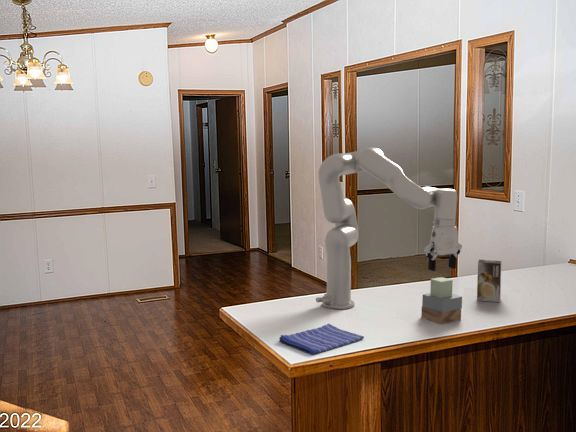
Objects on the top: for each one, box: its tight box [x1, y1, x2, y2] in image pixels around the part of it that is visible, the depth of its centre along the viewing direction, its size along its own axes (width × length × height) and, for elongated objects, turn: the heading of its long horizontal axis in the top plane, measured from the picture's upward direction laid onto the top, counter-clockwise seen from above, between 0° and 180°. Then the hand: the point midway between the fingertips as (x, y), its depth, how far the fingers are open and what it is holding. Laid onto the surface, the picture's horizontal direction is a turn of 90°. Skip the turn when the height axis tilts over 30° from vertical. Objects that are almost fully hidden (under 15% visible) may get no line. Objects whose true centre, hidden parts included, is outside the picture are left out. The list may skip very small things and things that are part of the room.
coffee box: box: [476, 259, 502, 303], centre depth 253 cm, size 9×6×16 cm
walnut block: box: [420, 305, 462, 325], centre depth 227 cm, size 10×10×4 cm
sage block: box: [429, 277, 453, 298], centre depth 226 cm, size 6×6×6 cm
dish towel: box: [279, 323, 365, 356], centre depth 203 cm, size 17×24×3 cm
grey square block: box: [421, 292, 463, 313], centre depth 227 cm, size 10×10×4 cm
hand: (442, 269), depth 226 cm, fingers open, 9 cm apart
